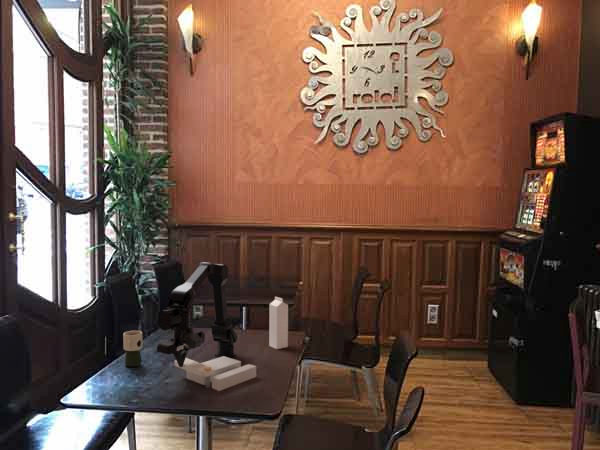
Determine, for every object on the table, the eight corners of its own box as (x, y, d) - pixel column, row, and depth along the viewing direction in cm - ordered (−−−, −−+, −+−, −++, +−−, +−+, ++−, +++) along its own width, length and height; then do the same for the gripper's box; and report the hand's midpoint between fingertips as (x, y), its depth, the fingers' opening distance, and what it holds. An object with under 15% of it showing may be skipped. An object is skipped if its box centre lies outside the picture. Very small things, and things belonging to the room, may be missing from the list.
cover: (204, 377, 182) (204, 370, 182) (174, 365, 194) (174, 359, 194) (215, 373, 186) (215, 367, 186) (185, 362, 198) (185, 356, 198)
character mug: (139, 370, 201) (138, 336, 201) (120, 370, 201) (119, 337, 200) (145, 360, 212) (145, 329, 211) (127, 360, 212) (127, 329, 211)
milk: (276, 349, 229) (276, 299, 227) (269, 346, 233) (269, 297, 232) (288, 347, 232) (288, 297, 230) (280, 343, 237) (280, 295, 235)
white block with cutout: (184, 379, 193) (184, 367, 192) (223, 365, 207) (223, 355, 207) (217, 391, 181) (217, 379, 181) (256, 376, 195) (256, 365, 195)
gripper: (179, 333, 177) (179, 378, 178) (215, 322, 193) (215, 364, 194) (156, 328, 183) (155, 372, 184) (192, 318, 199) (192, 359, 200)
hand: (180, 366), depth 190 cm, fingers closed
